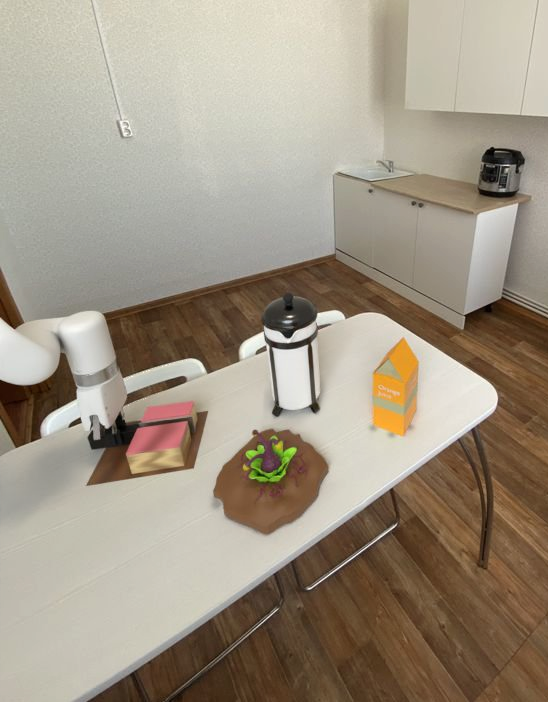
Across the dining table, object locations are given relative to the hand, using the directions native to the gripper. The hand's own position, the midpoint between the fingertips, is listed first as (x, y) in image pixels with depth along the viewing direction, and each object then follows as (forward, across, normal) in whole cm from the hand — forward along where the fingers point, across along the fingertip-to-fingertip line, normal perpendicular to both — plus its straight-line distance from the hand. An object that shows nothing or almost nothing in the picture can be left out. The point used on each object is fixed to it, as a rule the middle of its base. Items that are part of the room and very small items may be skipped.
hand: (117, 439), depth 83 cm
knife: (+1, 0, +6) cm, 6 cm away
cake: (+2, +2, +8) cm, 8 cm away
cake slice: (+1, -2, +10) cm, 11 cm away
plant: (+2, +14, +34) cm, 37 cm away
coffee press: (+2, -9, +38) cm, 40 cm away
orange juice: (+2, +3, +62) cm, 62 cm away
